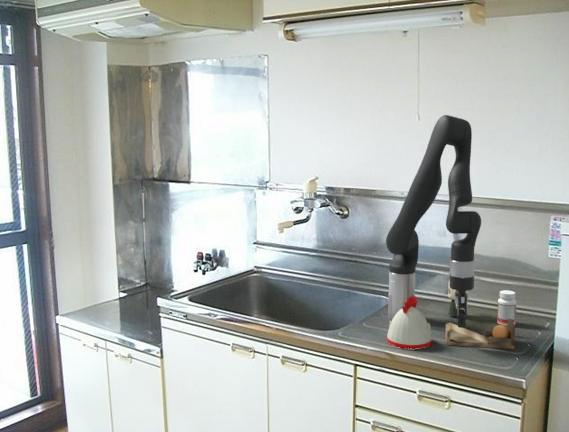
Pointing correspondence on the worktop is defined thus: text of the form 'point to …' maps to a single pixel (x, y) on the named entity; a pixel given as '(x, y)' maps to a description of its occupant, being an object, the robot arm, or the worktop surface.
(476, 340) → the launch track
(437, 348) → the worktop surface
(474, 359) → the worktop surface
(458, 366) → the worktop surface
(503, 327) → the ball
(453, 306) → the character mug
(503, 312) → the pill bottle
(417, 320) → the white dome
